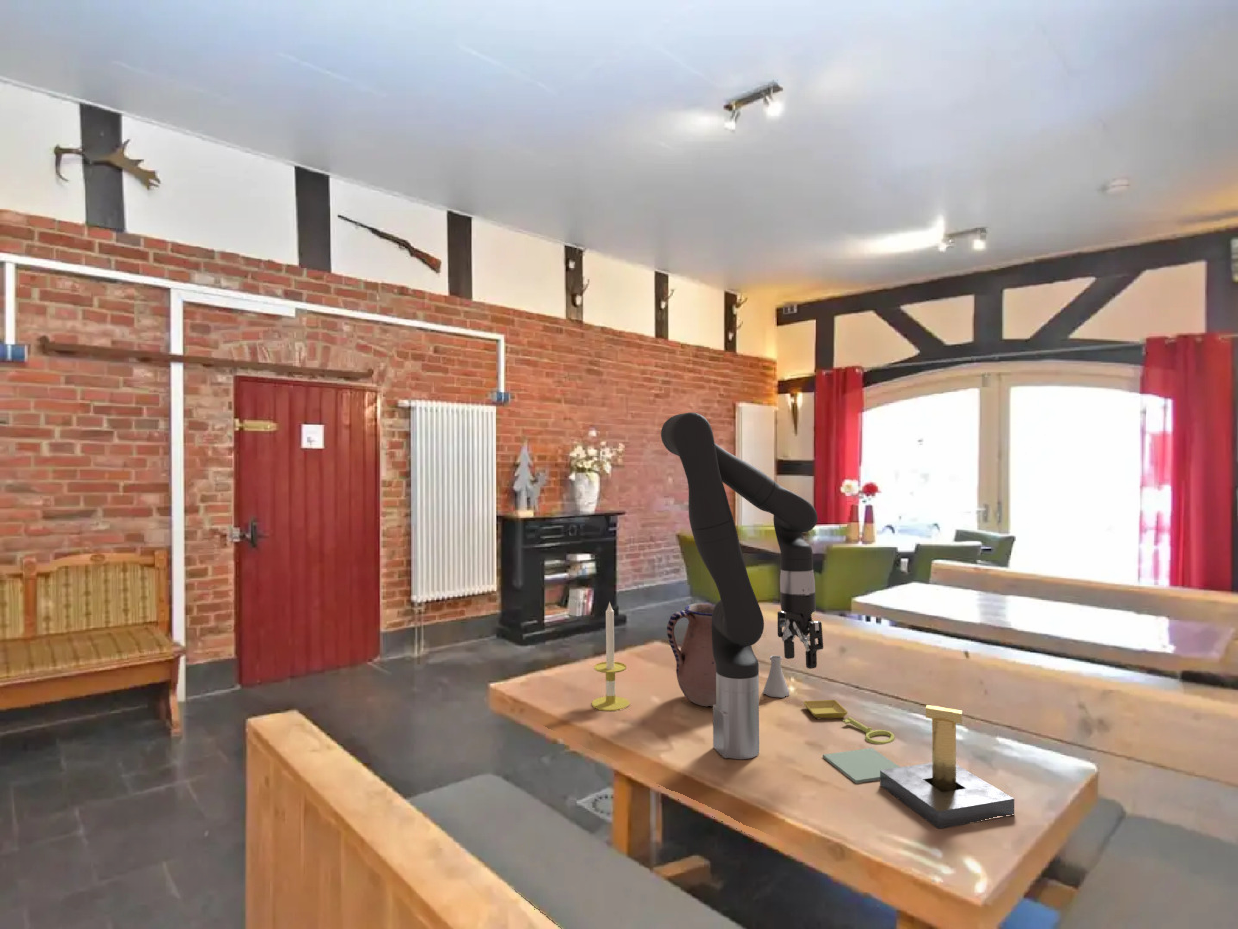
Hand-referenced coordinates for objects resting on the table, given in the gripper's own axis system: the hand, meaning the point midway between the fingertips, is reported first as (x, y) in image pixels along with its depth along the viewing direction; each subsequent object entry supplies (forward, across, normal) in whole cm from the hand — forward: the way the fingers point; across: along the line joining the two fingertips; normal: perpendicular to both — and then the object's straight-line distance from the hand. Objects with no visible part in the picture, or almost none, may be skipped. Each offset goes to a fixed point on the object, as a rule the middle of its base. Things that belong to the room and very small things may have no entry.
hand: (800, 663), depth 151 cm
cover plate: (+20, +29, +11) cm, 37 cm away
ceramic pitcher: (+17, -32, -9) cm, 37 cm away
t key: (+20, +29, +11) cm, 37 cm away
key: (+19, -1, +18) cm, 26 cm away
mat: (+19, +12, +6) cm, 24 cm away
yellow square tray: (+19, -15, +16) cm, 29 cm away
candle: (+17, -39, -32) cm, 53 cm away
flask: (+18, -31, +12) cm, 38 cm away
